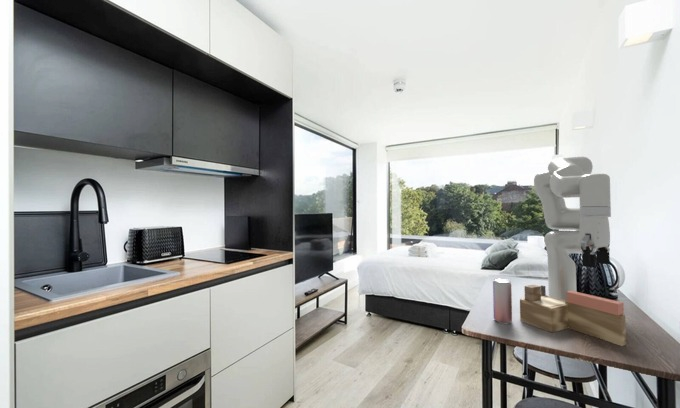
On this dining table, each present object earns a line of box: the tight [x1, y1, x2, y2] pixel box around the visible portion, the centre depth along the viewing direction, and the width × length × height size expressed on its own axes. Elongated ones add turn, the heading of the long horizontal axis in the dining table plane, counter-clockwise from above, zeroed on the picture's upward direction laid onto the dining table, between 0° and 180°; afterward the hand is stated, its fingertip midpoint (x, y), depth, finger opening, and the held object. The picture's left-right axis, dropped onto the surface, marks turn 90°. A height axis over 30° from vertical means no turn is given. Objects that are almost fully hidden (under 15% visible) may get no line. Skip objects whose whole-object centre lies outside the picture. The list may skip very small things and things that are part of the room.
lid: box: [524, 284, 565, 307], centre depth 104 cm, size 11×9×6 cm
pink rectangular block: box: [567, 291, 625, 316], centre depth 94 cm, size 3×14×4 cm, turn 23°
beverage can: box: [492, 278, 513, 325], centre depth 107 cm, size 6×6×15 cm
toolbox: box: [519, 285, 627, 347], centre depth 98 cm, size 13×26×12 cm, turn 23°
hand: (596, 265), depth 93 cm, fingers open, 9 cm apart
